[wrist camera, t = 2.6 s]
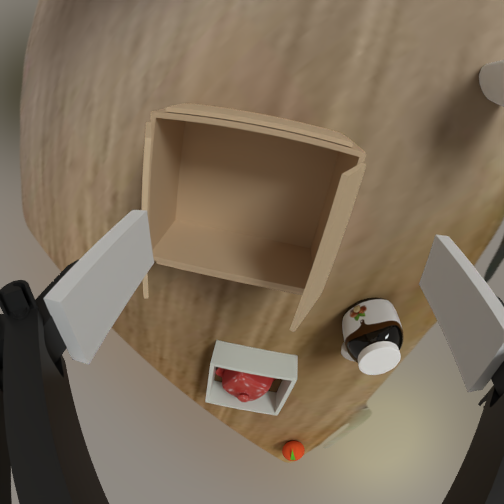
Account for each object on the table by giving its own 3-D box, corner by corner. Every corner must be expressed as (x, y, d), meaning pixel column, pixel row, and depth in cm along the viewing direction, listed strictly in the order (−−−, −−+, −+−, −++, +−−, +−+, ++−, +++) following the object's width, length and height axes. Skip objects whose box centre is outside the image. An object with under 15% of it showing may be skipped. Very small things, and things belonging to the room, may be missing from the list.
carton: (172, 224, 46) (144, 262, 37) (185, 100, 36) (151, 106, 27) (311, 253, 46) (316, 299, 37) (347, 132, 36) (367, 147, 27)
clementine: (281, 436, 79) (280, 456, 73) (304, 435, 78) (303, 455, 72) (283, 445, 83) (282, 464, 77) (305, 445, 82) (304, 463, 76)
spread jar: (388, 287, 48) (406, 336, 38) (400, 328, 52) (414, 375, 42) (325, 311, 52) (330, 362, 42) (343, 348, 56) (349, 396, 46)
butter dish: (213, 368, 64) (205, 399, 57) (241, 344, 59) (235, 378, 52) (254, 389, 67) (250, 419, 59) (285, 367, 61) (284, 400, 54)
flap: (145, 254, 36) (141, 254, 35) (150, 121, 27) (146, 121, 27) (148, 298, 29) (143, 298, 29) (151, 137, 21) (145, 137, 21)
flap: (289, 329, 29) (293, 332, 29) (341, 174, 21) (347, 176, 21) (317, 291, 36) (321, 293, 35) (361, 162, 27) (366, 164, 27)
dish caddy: (210, 381, 67) (205, 401, 61) (216, 340, 58) (210, 362, 53) (279, 394, 67) (277, 415, 61) (297, 355, 58) (297, 379, 53)
